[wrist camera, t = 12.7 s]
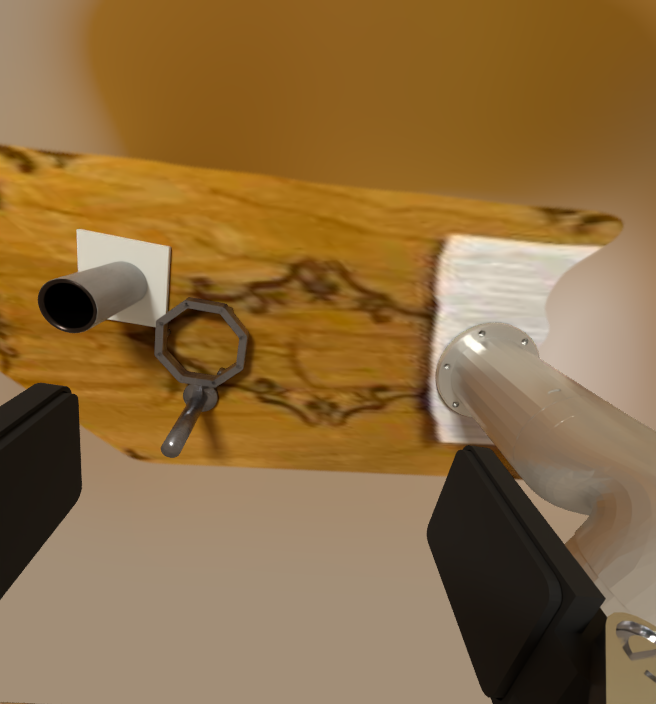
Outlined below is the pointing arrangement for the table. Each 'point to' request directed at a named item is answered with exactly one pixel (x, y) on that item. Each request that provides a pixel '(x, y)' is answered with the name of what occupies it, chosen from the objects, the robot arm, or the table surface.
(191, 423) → the ring stand
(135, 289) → the gray hollow cylinder
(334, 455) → the table surface
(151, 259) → the coaster
